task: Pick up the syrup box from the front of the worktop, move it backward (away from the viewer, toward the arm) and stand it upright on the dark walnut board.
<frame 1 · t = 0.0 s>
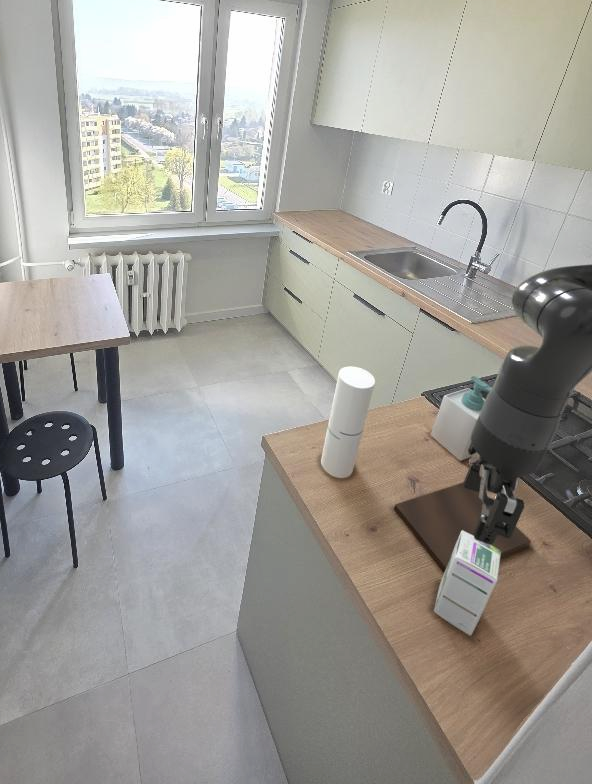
hand: (476, 512, 59), 25 cm above the counter, tool pointing down, fingers open, 8 cm apart
cylindrical container: (336, 465, 96), on the counter
board: (458, 526, 83), on the counter
soap bottle: (457, 444, 103), on the counter
syrup box: (453, 609, 70), on the counter
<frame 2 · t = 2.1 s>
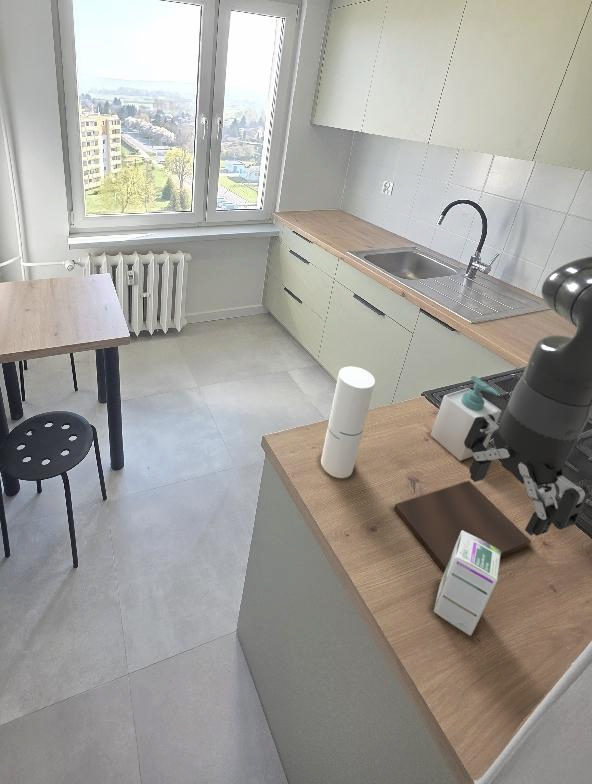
hand: (502, 503, 59), 26 cm above the counter, tool pointing down, fingers open, 8 cm apart
nothing on the counter moved.
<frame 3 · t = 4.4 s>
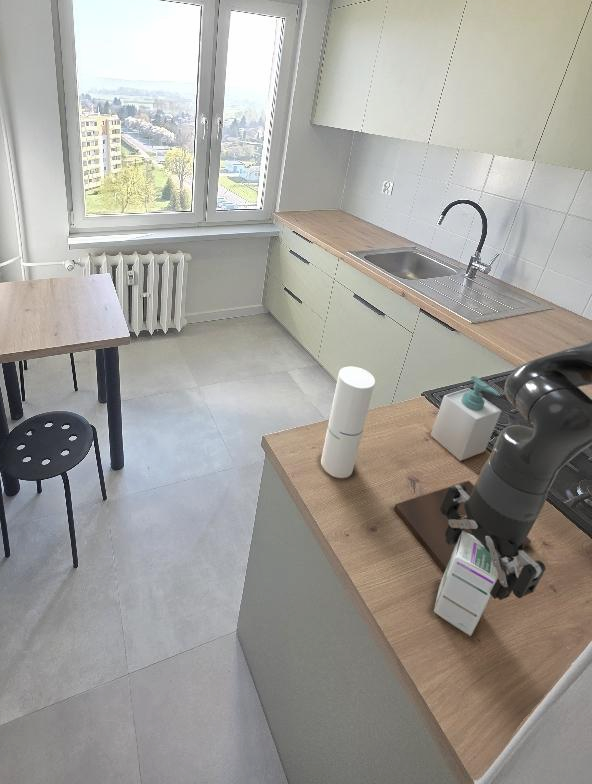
hand: (472, 566, 65), 11 cm above the counter, tool pointing down, fingers closed on syrup box, 7 cm apart
syrup box: (453, 609, 70), on the counter, touching gripper
everything else where it was.
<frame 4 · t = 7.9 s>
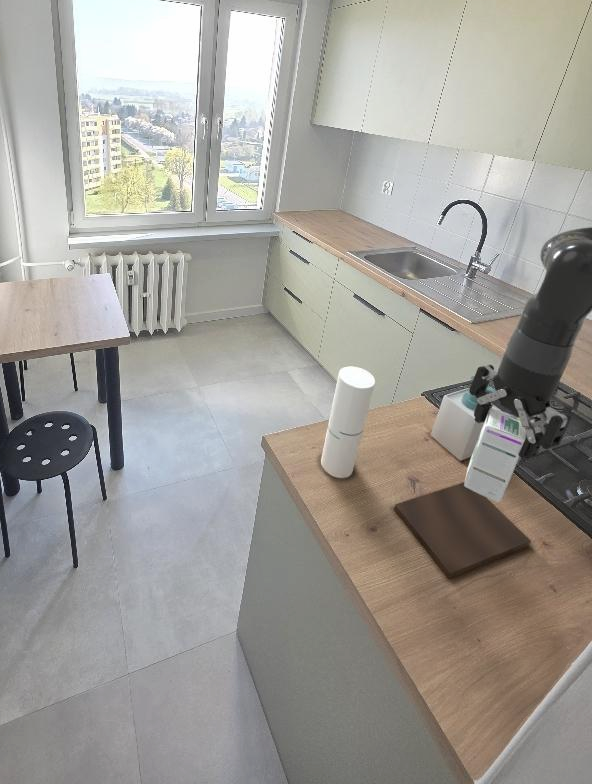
hand: (501, 437, 71), 26 cm above the counter, tool pointing down, fingers closed on syrup box, 7 cm apart
syrup box: (482, 485, 76), point 14 cm above the counter, touching gripper
everything else where it was.
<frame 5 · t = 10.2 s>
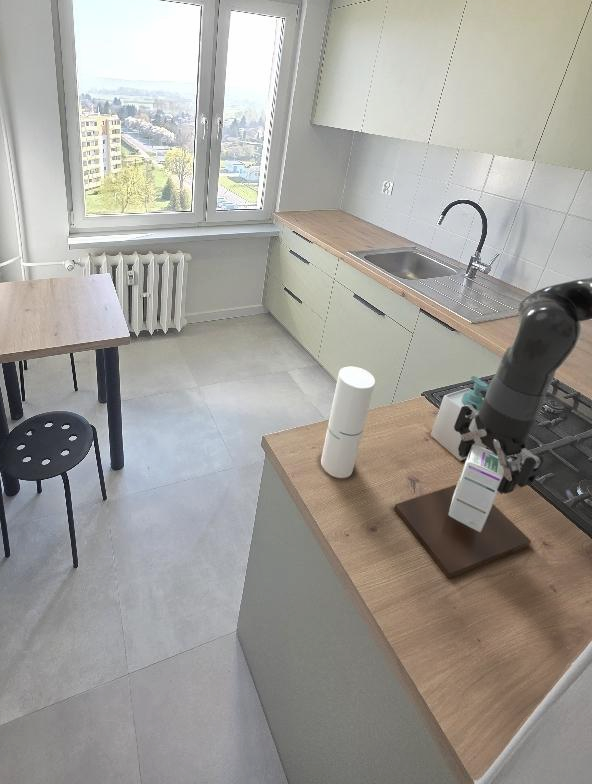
hand: (482, 472, 77), 15 cm above the counter, tool pointing down, fingers closed on syrup box, 7 cm apart
syrup box: (465, 514, 82), point 4 cm above the counter, touching gripper
everything else where it was.
when the fingers open (13 cm above the counter, at t = 11.7 s): syrup box stays where it is, resting on board.
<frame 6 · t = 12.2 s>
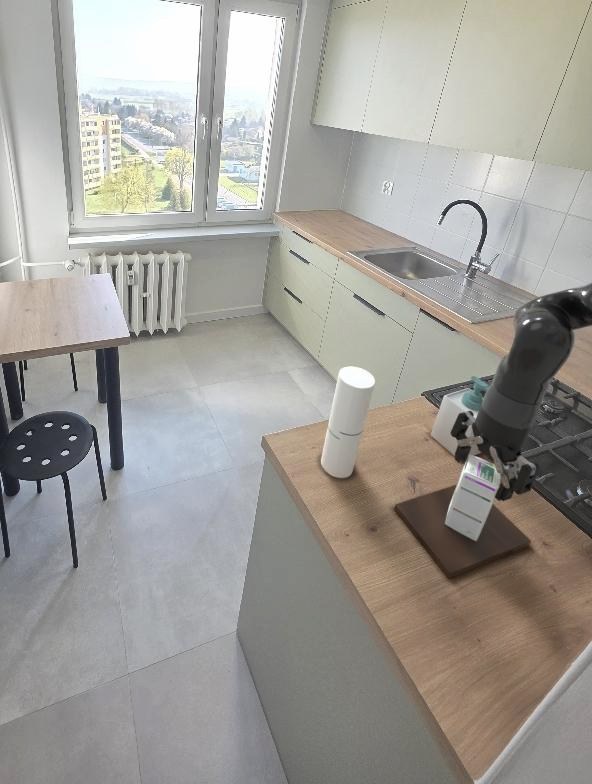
hand: (479, 478, 78), 14 cm above the counter, tool pointing down, fingers open, 8 cm apart
syrup box: (461, 523, 83), point 1 cm above the counter, touching board
everything else where it was.
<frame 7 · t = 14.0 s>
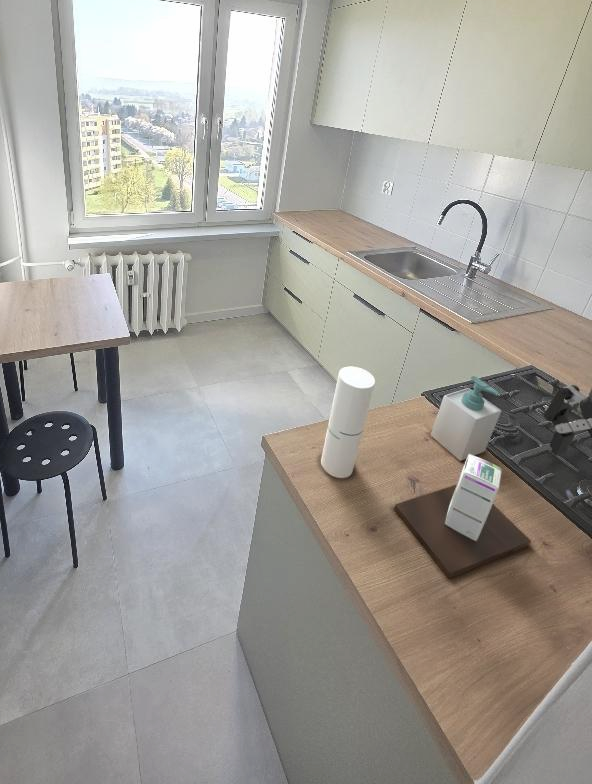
hand: (589, 476, 57), 31 cm above the counter, tool pointing down, fingers open, 8 cm apart
nothing on the counter moved.
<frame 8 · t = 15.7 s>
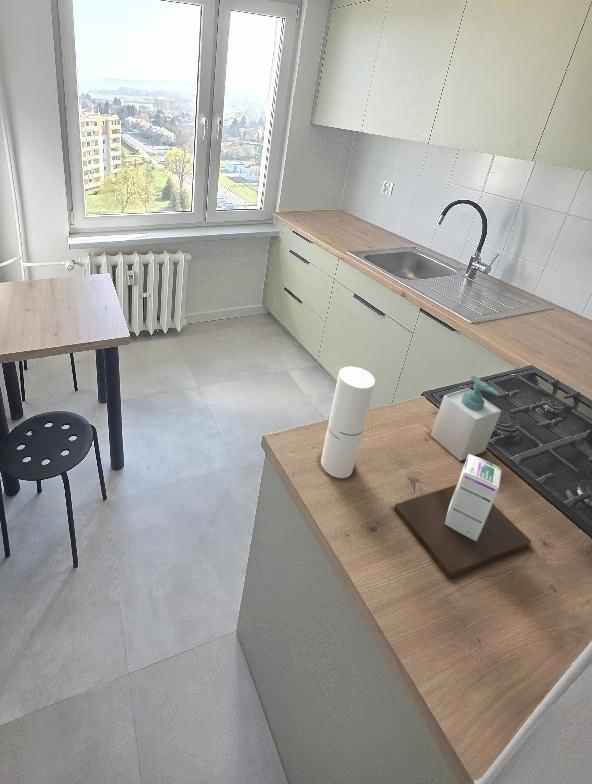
nothing on the counter moved.
at the end: syrup box inside the target area on the board (0.2 cm from its centre), point 1.3 cm above the board's base; syrup box tilted 0°; syrup box moved 17.1 cm from its start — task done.
